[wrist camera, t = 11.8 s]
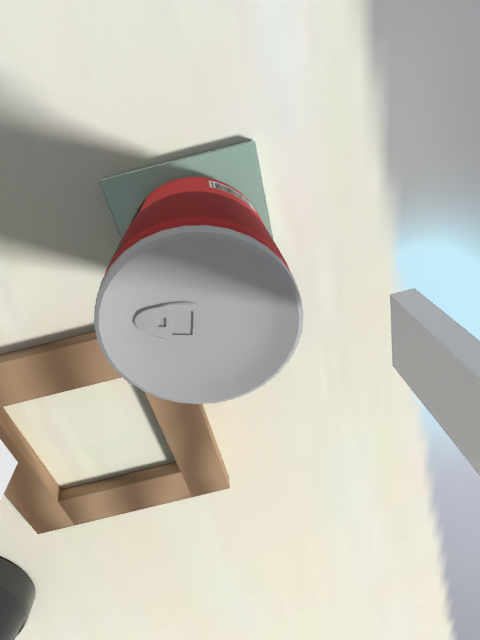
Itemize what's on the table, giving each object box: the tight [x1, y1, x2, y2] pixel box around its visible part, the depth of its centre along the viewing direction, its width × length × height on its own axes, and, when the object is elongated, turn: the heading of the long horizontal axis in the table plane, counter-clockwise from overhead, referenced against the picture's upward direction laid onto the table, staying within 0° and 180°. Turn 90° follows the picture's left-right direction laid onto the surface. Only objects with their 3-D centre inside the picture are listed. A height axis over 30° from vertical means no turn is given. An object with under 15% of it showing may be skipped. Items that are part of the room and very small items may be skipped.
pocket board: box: [0, 331, 230, 534], centre depth 32 cm, size 18×18×1 cm
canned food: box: [94, 177, 303, 404], centre depth 20 cm, size 8×8×11 cm
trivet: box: [100, 140, 273, 239], centre depth 25 cm, size 9×9×1 cm
